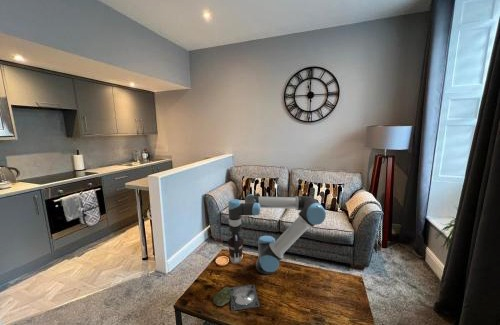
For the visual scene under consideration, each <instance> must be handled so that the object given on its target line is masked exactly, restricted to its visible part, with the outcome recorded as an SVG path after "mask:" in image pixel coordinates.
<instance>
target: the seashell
mask: <svg viewBox="0 0 500 325" xmlns="http://www.w3.org/2000/svg"><path fill="white" fill-rule="evenodd" d="M229 288H230V287H228V286H225V287H223V288H222V289H220V290H219V291H217V292H215V294H214V296H213V298H212V303H213V304H214V305H216V306H218V307H222V306H225V305H226V304H228V303H230V297H231V291H230V290H229Z"/></svg>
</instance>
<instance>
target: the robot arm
mask: <svg viewBox="0 0 500 325" xmlns="http://www.w3.org/2000/svg"><path fill="white" fill-rule="evenodd" d="M262 208H263V209H289V210H291V209H293V210H296V211H299V212H298V217H297V218H296V219H295V220H294V221H293V222H292V223H291V224H290V225H289V226H288V227H287V229H285V231H284V232H283V233H282V234H281V235H280V236H279V237H278V238H277V239H276V238H275V237H273V236H271V235H262V236H259V238H258V241H257V244H258V246H257V247H258V258H257V260H256V263H255V268H256V270H257V272H259V273H260V274H263V275H272V274H274V273H276V271H277V270H278V269H279V266H280V262H281V261H282V260H283V259H284V254H285V253H286V251H288V250H289V248H291V247H292V246H293V244H295V243H296V241H297V240H298V239H300V237H301V236H302V235H303V234H304V233H305V232H307V230H308V229H309V228H313V227H314V226H317V225H321V224H323V223H324V221H325V220H326V216H327V212H326V209H325V208H324V206H323V205H322V204H321V203H320V202H319V201H318V200H317V199H316V198H315V197H312V196H305V195H295V196H294V197H293V196H289V197H288V196H257V195H256V196H255V195H254V194H252V193H250V194H247V195H246V196H245V198H244V203H243V202H242V201H241V200H240V199H236V198H233V199H230V200H229V201H228V208H227V209H228V219H227V221H228V228H229V229H228V230H229V232H231V234H232V237H233V241H234V245H235V248H234V249H235V252H233V253H234V258H235V262H238V261H239V237H240V233H239V232H241V230H242V216H253V217H254V216H260V214H261V209H262Z"/></svg>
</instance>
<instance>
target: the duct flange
mask: <svg viewBox="0 0 500 325" xmlns="http://www.w3.org/2000/svg"><path fill="white" fill-rule="evenodd" d="M228 288H229V290H230V291H231V297H230V301H229V303H230V310H231V312H233V311H241V310H246V309H254V308H260V302H259V297H258V292H257V290H256V286H255V284H248V285H247V284H246V285H239V286H233V287H232V286H231V287H228Z"/></svg>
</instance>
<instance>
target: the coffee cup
mask: <svg viewBox="0 0 500 325" xmlns="http://www.w3.org/2000/svg"><path fill="white" fill-rule="evenodd" d="M243 245H244V239H243V238H241V237H240V236H239V261H238V262H235V258H234V253H233V252H235V249H234V248H235V245H234V241H233V236H232V237H230V238H229V239H228V240H227V246H228V251H229V252H228V253H229V259H230V262H231V263H232V264H239V263H241V262H242V260H243V248H244V247H243Z"/></svg>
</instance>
